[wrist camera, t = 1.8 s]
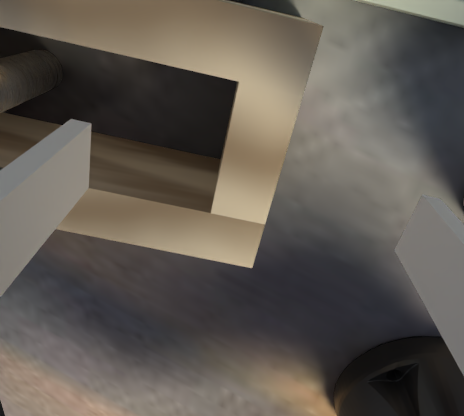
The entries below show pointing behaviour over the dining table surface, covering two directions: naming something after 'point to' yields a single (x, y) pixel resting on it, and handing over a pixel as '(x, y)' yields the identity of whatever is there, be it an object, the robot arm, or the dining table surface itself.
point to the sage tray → (426, 9)
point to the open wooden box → (169, 160)
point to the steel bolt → (27, 77)
